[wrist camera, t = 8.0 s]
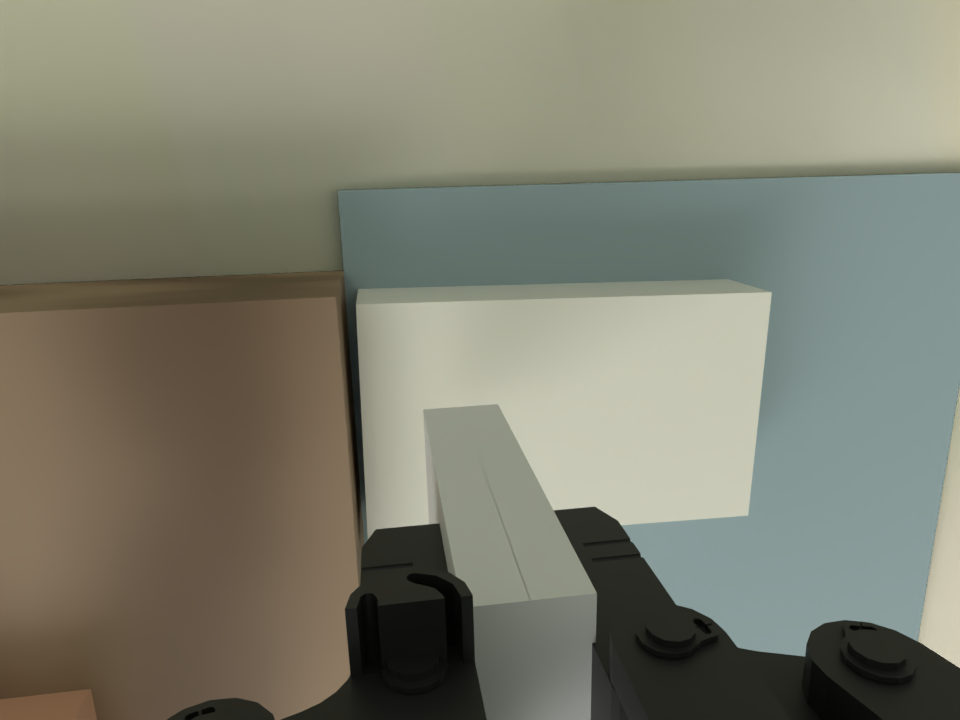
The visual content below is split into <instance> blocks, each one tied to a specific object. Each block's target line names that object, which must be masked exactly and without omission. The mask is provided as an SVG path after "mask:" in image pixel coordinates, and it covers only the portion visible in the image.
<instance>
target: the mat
mask: <svg viewBox="0 0 960 720" xmlns="http://www.w3.org/2000/svg"><path fill="white" fill-rule="evenodd" d="M338 203H339V216H340V229H341V243H342V256H343V269H344V282H345V295H346V308H347V322H348V335H349V348H350V361H351V374H352V387H353V400H354V414H355V427H356V440H357V453H358V466H359V479H360V493H361V506H362V519H363V532H364V544H365V543H366V542H367V540H368V535H367V515H366V496H365V476H364V456H363V437H362V417H361V397H360V378H359V358H358V338H357V319H356V300H357V293H358V289H373V288H411V287H449V286H487V285H525V284H563V283H601V282H639V281H677V280H715V279H729V280H733V281H736V282H739V283H743V284H746V285H749V286H753V287H756V288H759V289H763V290H766V291H769V292H772V296H771V305H770V315H769V324H768V333H767V343H766V352H765V362H764V371H763V381H762V390H761V399H760V409H759V418H758V428H757V437H756V447H755V456H754V465H753V475H752V484H751V494H750V503H749V513H748V516H737V517H724V518H711V519H698V520H685V521H672V522H659V523H645V524H632V525H621V526H622V527H623V529H624V530H625V532H626V533H627V535H628V536H629V537H630V541H631V542H633V543H634V545H635V546H636V548H637V549H638V550H639V552H640V553H641V557H643V558H644V559H645V561H646V562H647V563H648V565H649V566H650V568H651V569H652V571H653V572H654V574H655V575H656V576H657V578H658V579H659V581H660V582H661V584H662V585H663V587H664V588H665V589H666V591H667V592H668V594H669V595H670V597H671V598H672V600H673V601H674V602H675V604H676V605H678V606H682V607H686V608H690V609H693V610H695V611H697V612H699V613H701V614H703V615H705V616H707V617H709V618H711V619H712V620H713V621H714V622H716V623H717V624H718V625H719V626H720V627H721V628H722V629H723V630H724V631H725V632H726V633H727V634H728V636H729V637H730V638H731V639H732V641H733V642H734V643H735V645H736V646H737V647H738V648H742V649H748V650H753V651H759V652H769V653H778V654H787V655H796V656H805V653H806V644H807V641H808V639H809V636H810V633H811V631H812V630H814V629H816V628H817V627H819V626H821V625H822V624H824V623H828V622H835V621H842V620H849V621H859V622H860V621H862V622H869V623H873V624H876V625H879V626H883V627H886V628H889V629H893V630H896V631H898V632H900V633H902V634H904V635H906V636H908V637H910V638H912V639H913V640H915V641H917V642H918V636H919V630H920V624H921V618H922V611H923V605H924V599H925V593H926V587H927V581H928V575H929V569H930V563H931V556H932V550H933V544H934V538H935V532H936V526H937V520H938V514H939V508H940V502H941V495H942V489H943V483H944V477H945V471H946V465H947V459H948V453H949V447H950V440H951V434H952V428H953V422H954V416H955V410H956V404H957V398H958V392H959V385H960V173H927V174H892V175H857V176H821V177H786V178H751V179H715V180H680V181H644V182H609V183H574V184H538V185H503V186H468V187H432V188H397V189H362V190H338Z"/></svg>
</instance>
